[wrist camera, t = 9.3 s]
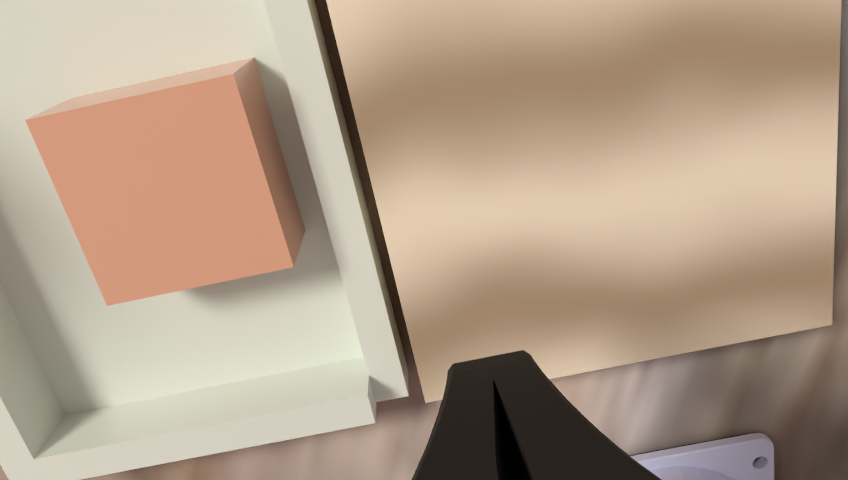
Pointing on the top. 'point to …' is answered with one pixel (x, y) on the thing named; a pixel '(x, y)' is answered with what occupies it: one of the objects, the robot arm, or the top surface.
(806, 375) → the top surface
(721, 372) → the top surface
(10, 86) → the tray
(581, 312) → the board
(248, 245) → the block
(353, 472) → the top surface
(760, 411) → the top surface
